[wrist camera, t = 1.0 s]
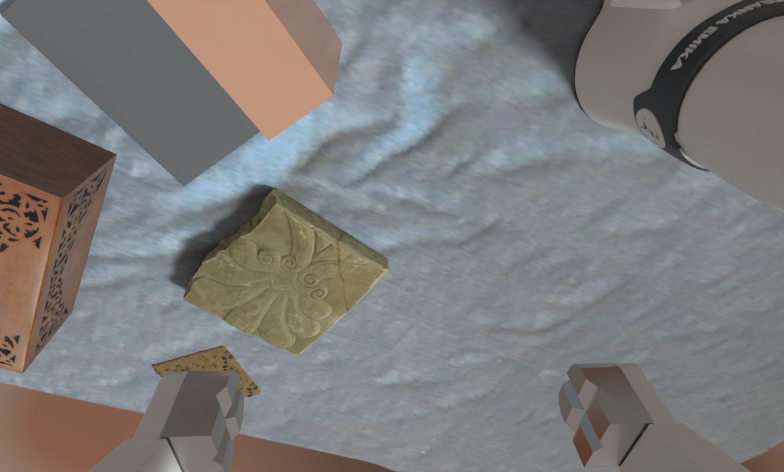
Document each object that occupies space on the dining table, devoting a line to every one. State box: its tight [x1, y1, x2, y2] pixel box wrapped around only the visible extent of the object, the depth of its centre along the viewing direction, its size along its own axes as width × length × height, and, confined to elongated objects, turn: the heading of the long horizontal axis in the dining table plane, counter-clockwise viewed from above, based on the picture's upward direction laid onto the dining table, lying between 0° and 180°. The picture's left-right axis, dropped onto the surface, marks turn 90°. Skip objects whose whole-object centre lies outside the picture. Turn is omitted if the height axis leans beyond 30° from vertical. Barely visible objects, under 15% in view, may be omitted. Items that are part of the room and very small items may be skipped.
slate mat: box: [1, 0, 260, 186], centre depth 39 cm, size 17×20×1 cm
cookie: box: [152, 346, 261, 398], centre depth 65 cm, size 12×12×1 cm
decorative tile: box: [183, 189, 389, 355], centre depth 53 cm, size 19×20×4 cm
